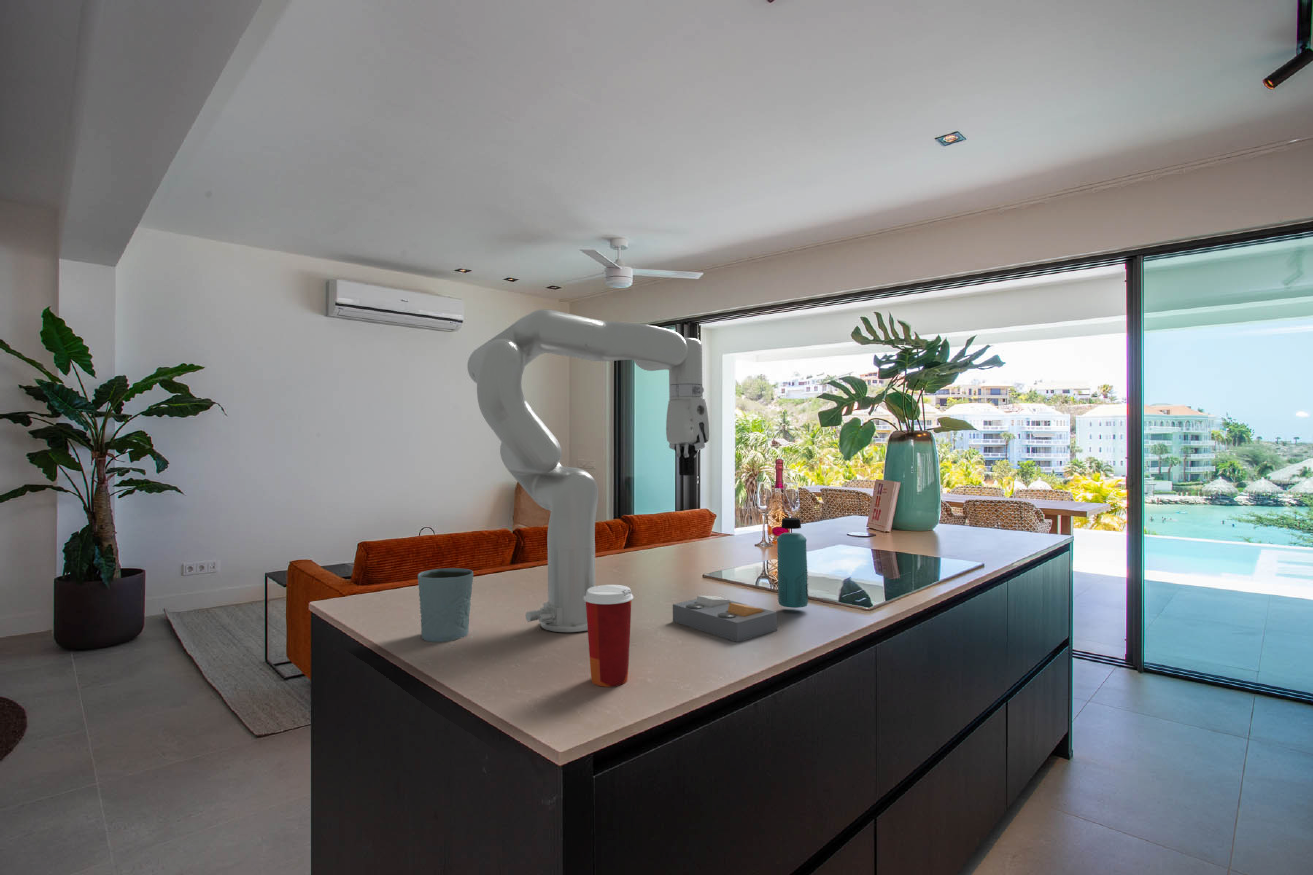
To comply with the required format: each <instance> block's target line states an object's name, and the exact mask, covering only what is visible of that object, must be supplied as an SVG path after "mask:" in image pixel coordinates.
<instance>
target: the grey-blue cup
mask: <svg viewBox="0 0 1313 875" xmlns="http://www.w3.org/2000/svg"><path fill="white" fill-rule="evenodd" d="M474 574H475V573H474V571H473V570H472V569H468V568H457V567H456V568H455V567H452V568H451V567H450V568H449V567H448V568H445V567H444V568H435V569H430V570H425V571H421V572H419V573H418V574H417V584H418V591H419V592H418V594H419V595H418V596H419V605H420V606H419V608H420V611H419V612H420V614H421V615H420V618H421V619H420V627H421V630H420V631H421V632H420V633H421V639H422V640H423V639H424V640H423V641H425V640H426V642H431V643H445V642H451V640H453V641H456V640H455V639H457V640H460V639H462V638H461V637H463V638H465V637H467V635H468V634H469V631H470V630H469V629H470V628H469V627H470V626H469V625H470V613H471V612H470V611H471V597H472V592H473V582H474V581H473V580H474ZM464 636H465V637H464ZM459 638H460V639H459Z"/></svg>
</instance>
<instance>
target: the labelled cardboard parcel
mask: <svg viewBox="0 0 1313 875" xmlns="http://www.w3.org/2000/svg"><path fill="white" fill-rule="evenodd" d="M760 608H761V607H758V606H755V605H750V604H746V605H742V604H735V603H729V607H728V612H729V613H734V614H736V615H740V616H744V617H745V616H749V615H753V614H757V613H761V612H763V609H764V608H762V609H760Z"/></svg>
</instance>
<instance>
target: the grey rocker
mask: <svg viewBox="0 0 1313 875" xmlns="http://www.w3.org/2000/svg"><path fill="white" fill-rule="evenodd" d="M696 599H697V602H696V604H701V605H704V606H707V607H711V608H712V607H716V606H720V605H724V604H728V603H729V600H730V599H727V598H725V597H720V596H717V595H697V596H696Z"/></svg>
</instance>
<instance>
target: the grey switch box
mask: <svg viewBox="0 0 1313 875" xmlns="http://www.w3.org/2000/svg"><path fill="white" fill-rule="evenodd" d="M728 600H729V603H735V604H742V605H747V604H746V603H742V602H739V601H734V600H730V599H728ZM696 602H697V598H695V599H690V600H686V601H682V602H678V603H677V602H676V603H673V604H672V622H674V623H677V624H679V625H680V624H681V625H683V626H685V627H689V628H692V629H696V630H698V631H701V632H704V631H705V632H704V633H708V634H710V635H711V634H712V635H714V636H717V637H721V638H723V637H724V639H727V640H729V639H731V640H730V641H733V642H736V643H738V642H742V640H743V641H746V640H749V639H752V638H753V639H754V638H756V637H759V636H762V635H767V634H770V633H772V632H776V631H778V613H777V611H773V610H770V609H765V608H761V607H759V608H760V609H763V612H761V613H757V614H753V615H749V616H745V617H744V616H740V615H736V614H734V613H729V612H728V607H729V603H728V604H724V605H720V606H716V607H712V608H711V607H707V606H704V605H701V604H696ZM745 639H746V640H745Z"/></svg>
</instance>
